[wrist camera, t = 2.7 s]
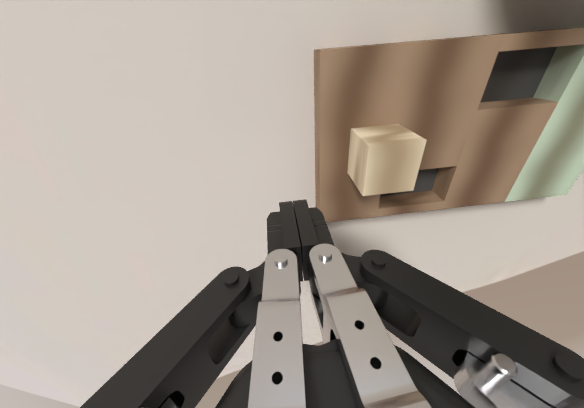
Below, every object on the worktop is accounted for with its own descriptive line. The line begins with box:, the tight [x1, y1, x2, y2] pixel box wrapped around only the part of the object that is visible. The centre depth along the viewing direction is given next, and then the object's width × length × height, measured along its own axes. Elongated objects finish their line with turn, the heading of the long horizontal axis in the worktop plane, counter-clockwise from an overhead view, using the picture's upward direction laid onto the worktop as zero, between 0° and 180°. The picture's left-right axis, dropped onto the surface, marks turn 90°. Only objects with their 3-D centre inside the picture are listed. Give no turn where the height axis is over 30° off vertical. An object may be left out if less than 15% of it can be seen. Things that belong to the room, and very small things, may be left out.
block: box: [347, 124, 427, 196], centre depth 18 cm, size 4×4×4 cm
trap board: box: [314, 27, 584, 222], centre depth 21 cm, size 27×15×2 cm, turn 94°
